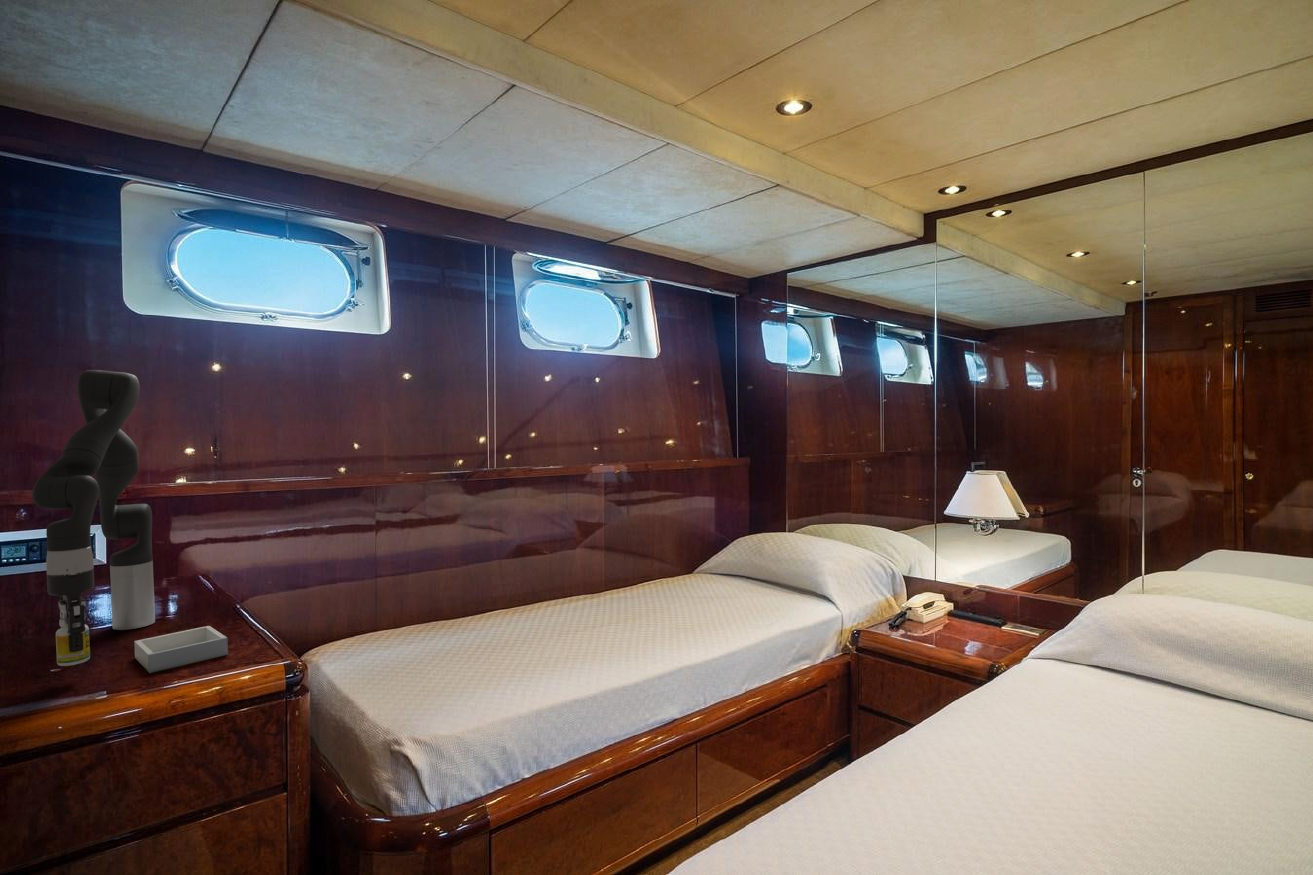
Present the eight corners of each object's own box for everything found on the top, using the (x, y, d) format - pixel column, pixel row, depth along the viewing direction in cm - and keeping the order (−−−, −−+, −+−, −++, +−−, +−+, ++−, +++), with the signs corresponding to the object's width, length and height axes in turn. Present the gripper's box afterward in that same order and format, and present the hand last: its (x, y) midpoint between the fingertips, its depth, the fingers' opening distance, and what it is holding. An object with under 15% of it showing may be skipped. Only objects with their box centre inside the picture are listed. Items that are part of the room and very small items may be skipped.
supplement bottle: (55, 662, 142) (53, 617, 142) (88, 655, 146) (86, 612, 146) (58, 668, 139) (56, 623, 138) (92, 661, 143) (90, 617, 142)
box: (135, 657, 157) (134, 641, 157) (209, 641, 168) (209, 625, 168) (149, 673, 147) (148, 654, 146) (228, 654, 158) (227, 637, 158)
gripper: (42, 567, 144) (46, 645, 145) (50, 578, 134) (55, 661, 135) (88, 561, 149) (91, 636, 150) (99, 571, 140) (102, 651, 140)
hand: (74, 647), depth 143 cm, fingers closed on supplement bottle, 5 cm apart
